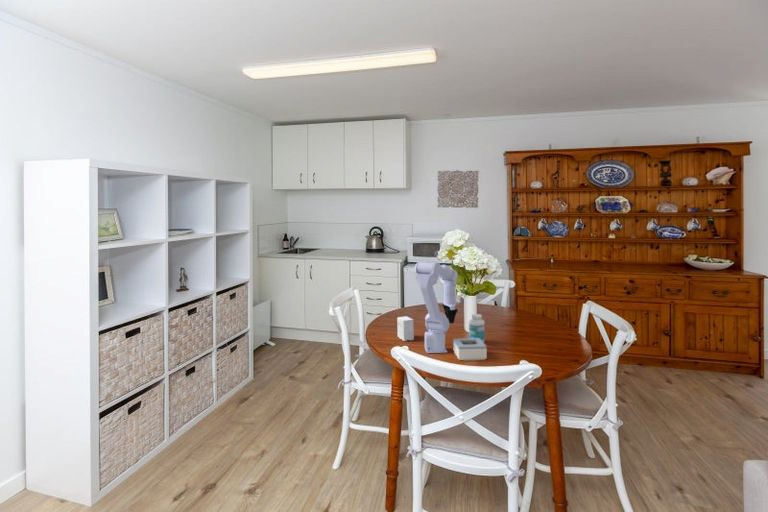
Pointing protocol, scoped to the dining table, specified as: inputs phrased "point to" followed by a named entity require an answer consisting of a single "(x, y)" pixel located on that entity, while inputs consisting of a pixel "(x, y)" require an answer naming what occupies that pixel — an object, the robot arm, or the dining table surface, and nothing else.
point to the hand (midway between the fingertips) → (449, 320)
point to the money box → (469, 349)
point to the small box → (405, 328)
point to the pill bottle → (477, 327)
